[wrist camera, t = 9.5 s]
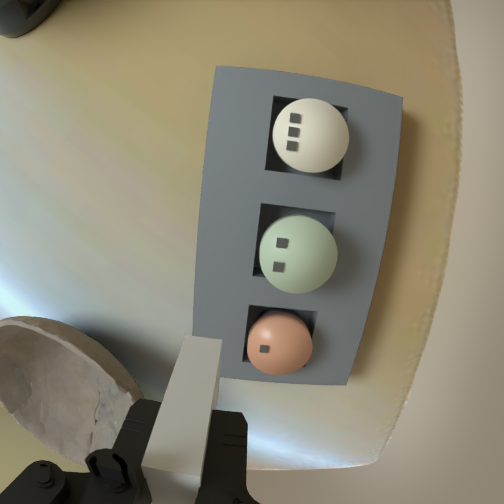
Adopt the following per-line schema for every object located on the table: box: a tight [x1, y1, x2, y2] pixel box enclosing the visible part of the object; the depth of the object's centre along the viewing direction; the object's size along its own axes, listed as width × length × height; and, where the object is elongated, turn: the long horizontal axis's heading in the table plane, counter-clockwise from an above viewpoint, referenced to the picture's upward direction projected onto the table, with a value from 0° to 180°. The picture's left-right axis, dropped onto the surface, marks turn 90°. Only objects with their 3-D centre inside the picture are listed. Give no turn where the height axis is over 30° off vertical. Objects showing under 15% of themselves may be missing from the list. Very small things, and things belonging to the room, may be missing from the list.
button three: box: [272, 98, 349, 173], centre depth 27 cm, size 6×6×5 cm
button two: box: [260, 214, 338, 294], centre depth 28 cm, size 6×6×5 cm
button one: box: [247, 307, 313, 375], centre depth 32 cm, size 6×6×5 cm
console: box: [192, 66, 403, 385], centre depth 31 cm, size 18×32×4 cm, turn 174°
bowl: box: [0, 316, 144, 467], centre depth 34 cm, size 26×26×10 cm
